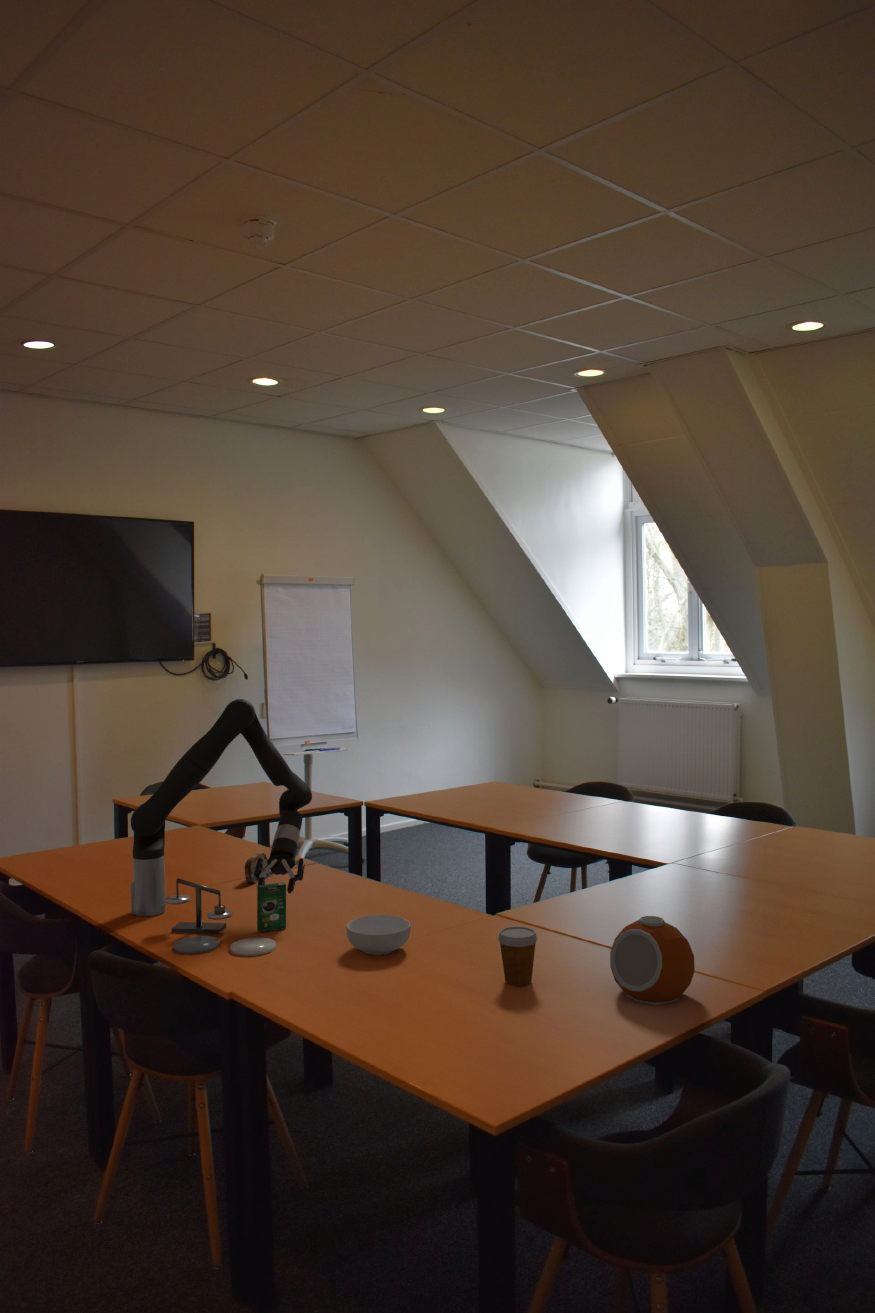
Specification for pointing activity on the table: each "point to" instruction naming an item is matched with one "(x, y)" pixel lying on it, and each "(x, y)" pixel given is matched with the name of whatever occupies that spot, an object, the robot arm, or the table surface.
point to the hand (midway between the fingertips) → (274, 891)
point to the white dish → (253, 946)
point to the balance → (199, 911)
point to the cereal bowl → (378, 933)
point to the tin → (253, 867)
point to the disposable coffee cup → (517, 954)
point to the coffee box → (271, 907)
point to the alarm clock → (652, 961)
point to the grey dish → (196, 945)
